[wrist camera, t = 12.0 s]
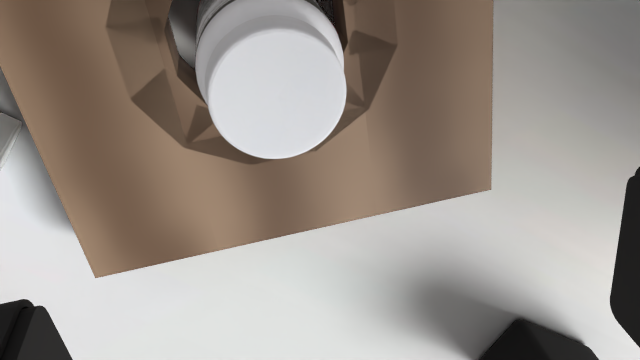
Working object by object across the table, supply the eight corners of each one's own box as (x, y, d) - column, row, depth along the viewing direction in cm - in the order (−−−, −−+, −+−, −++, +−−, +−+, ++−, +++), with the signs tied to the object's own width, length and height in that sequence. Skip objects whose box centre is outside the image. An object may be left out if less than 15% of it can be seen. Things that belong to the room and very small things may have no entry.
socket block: (464, -299, 20) (496, -315, 18) (469, 163, 29) (491, 189, 27) (-90, -212, 18) (-128, -218, 16) (103, 244, 28) (95, 277, 26)
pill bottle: (336, 30, 25) (393, 108, 17) (247, 97, 25) (266, 199, 18) (266, -69, 22) (298, -24, 15) (170, 8, 23) (158, 86, 16)
